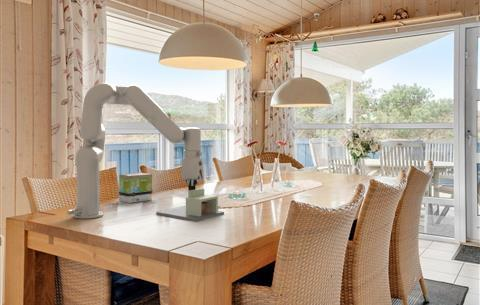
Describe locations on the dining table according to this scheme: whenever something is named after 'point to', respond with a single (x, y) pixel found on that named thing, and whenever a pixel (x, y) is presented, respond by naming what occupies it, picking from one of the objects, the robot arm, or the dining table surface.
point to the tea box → (135, 187)
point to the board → (181, 214)
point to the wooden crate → (205, 208)
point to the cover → (195, 202)
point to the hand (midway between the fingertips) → (191, 193)
